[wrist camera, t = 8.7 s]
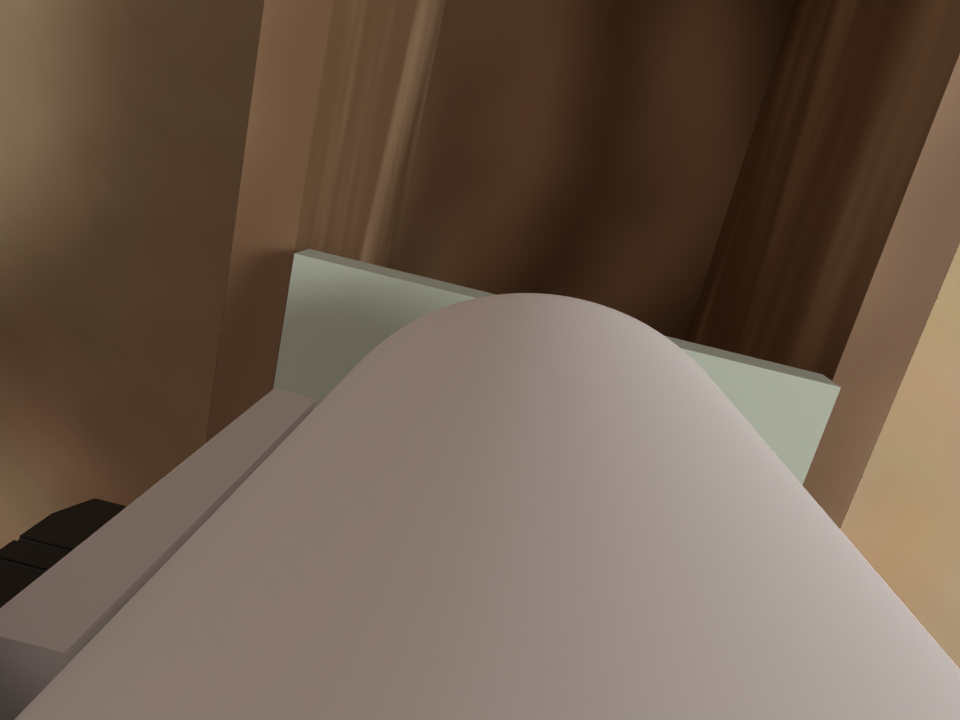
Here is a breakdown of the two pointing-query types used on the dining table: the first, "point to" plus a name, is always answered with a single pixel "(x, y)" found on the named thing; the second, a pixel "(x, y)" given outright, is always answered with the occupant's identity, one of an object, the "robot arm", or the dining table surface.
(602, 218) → the crate
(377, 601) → the beverage can
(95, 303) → the dining table surface
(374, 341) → the lid
